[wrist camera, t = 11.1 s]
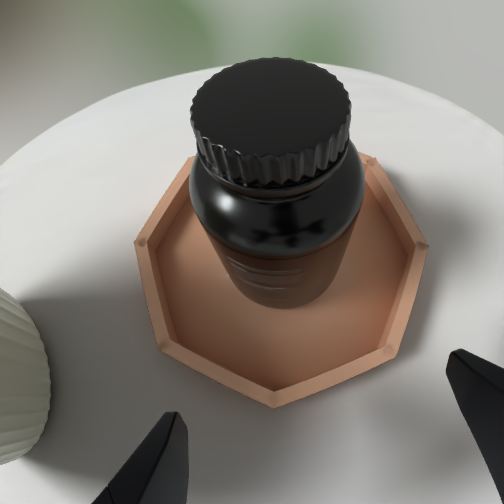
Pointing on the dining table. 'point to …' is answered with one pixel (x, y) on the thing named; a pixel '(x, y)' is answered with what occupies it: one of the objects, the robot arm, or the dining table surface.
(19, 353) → the canister
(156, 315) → the terracotta octagonal tray
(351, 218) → the supplement bottle
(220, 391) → the dining table surface
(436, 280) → the dining table surface
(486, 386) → the robot arm
